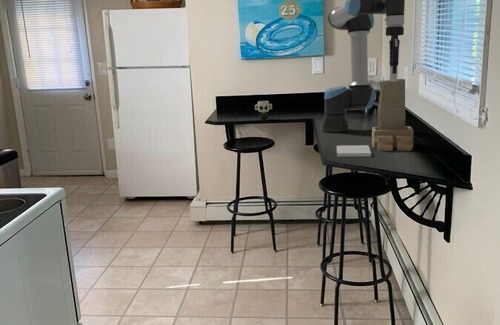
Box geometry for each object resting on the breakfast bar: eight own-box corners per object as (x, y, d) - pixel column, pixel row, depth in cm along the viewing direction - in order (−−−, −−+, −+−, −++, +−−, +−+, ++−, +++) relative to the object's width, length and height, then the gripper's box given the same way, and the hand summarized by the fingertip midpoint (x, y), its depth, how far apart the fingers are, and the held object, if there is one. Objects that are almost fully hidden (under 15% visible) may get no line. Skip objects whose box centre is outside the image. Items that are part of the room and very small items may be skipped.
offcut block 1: (377, 148, 213) (377, 135, 212) (391, 148, 212) (391, 135, 210) (378, 150, 209) (378, 137, 208) (392, 150, 208) (392, 137, 207)
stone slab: (403, 144, 219) (405, 78, 213) (405, 146, 215) (407, 79, 209) (376, 145, 220) (377, 79, 214) (378, 146, 216) (379, 80, 210)
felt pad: (336, 148, 216) (336, 145, 216) (368, 148, 214) (368, 145, 214) (337, 156, 201) (337, 153, 201) (371, 156, 199) (371, 153, 198)
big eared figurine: (255, 123, 303) (254, 102, 300) (255, 121, 310) (254, 101, 307) (272, 122, 303) (272, 101, 300) (271, 120, 310) (271, 100, 307)
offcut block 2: (395, 148, 212) (396, 135, 210) (409, 148, 211) (410, 135, 209) (397, 150, 208) (397, 137, 206) (411, 150, 207) (411, 137, 205)
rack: (371, 143, 224) (372, 126, 222) (409, 143, 221) (409, 126, 219) (373, 148, 215) (374, 130, 213) (412, 147, 212) (413, 130, 210)
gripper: (383, 27, 214) (382, 79, 219) (388, 26, 199) (386, 82, 204) (401, 26, 213) (399, 79, 218) (406, 25, 197) (404, 82, 203)
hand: (393, 80), depth 211 cm, fingers open, 3 cm apart
